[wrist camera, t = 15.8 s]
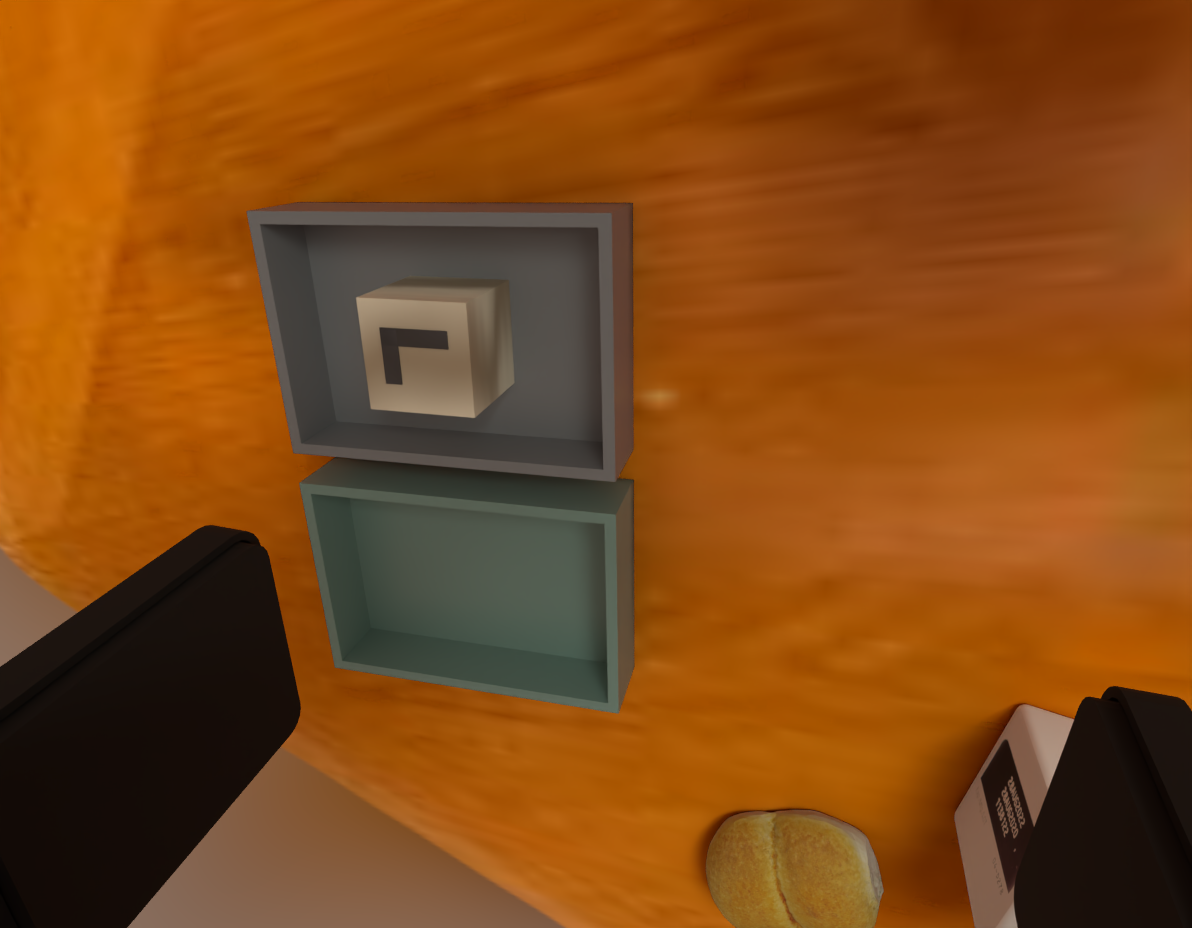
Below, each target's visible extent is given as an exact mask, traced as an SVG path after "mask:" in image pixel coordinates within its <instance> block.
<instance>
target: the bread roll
mask: <svg viewBox="0 0 1192 928" xmlns="http://www.w3.org/2000/svg"><path fill="white" fill-rule="evenodd" d="M706 876H707V881H708V886H709V889H710V892H711V895H712V898H713V900H714V902H715V904H716V905H717V907H718V908H719V910H720V911H721V913H722V914H723V916H724V917H725V918H726V919H727V920H728V921H729V922H730V923H731V924H732V925H734V926H735V927H736V928H874V926H875V923H876V918H877V914H878V910H879V903H880V900H881V896H882V894H883V892H884V891H883V886H882V881H881V875H880V871H879V866H878V862H877V859H876V857H875V855H874V852H873V849H872V848H871V846H870V844H869V840H868V839H867V837H866V836H865V834H864V833H862V832H861V831H860V830H858V829H857V828H855V827H853V826H851V825H850V824H848V823H845V822H843V821H841V820H839V819H836V818H834V817H831V816H828V815H826V814H824V813H821V812H817V811H812V810H786V811H776V812H773V813H768V812H765V811H752V812H744V813H739V814H737V815H734V816H731V817H729V818H728V819H726V820H725V821H724V823H723V824H722V825H721V826H720V827H719V829H718V831H717V832H716V834H715V835H714V837H713V839H712V841H711V843H710V845H709V848H708V853H707V858H706Z"/></svg>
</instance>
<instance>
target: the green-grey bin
mask: <svg viewBox="0 0 1192 928" xmlns="http://www.w3.org/2000/svg"><path fill="white" fill-rule="evenodd" d="M299 484H300V489H301V495H302V500H303V505H304V510H305V515H306V520H307V526H308V531H309V536H310V541H311V546H312V551H313V556H314V562H315V567H316V572H317V577H318V582H319V587H320V593H321V598H322V603H323V608H324V613H325V618H326V624H327V629H328V634H329V639H330V644H331V649H332V655H333V660H334V665H335V668H342V669H348V670H354V671H360V672H366V673H372V674H378V675H385V676H391V677H397V678H403V679H409V680H415V681H422V682H428V683H434V684H440V685H446V686H452V687H458V688H465V689H471V690H477V691H483V692H489V693H495V694H502V695H508V696H514V697H520V698H526V699H532V700H539V701H545V702H551V703H557V704H563V705H569V706H575V707H582V708H588V709H594V710H600V711H606V712H612V713H619V711H620V708H621V705H622V702H623V699H624V696H625V693H626V690H627V687H628V684H629V681H630V678H631V675H632V672H633V669H634V480H629V479H618V478H617V480H616V482H610V481H599V480H587V479H576V478H565V477H554V476H543V475H532V474H521V473H509V472H498V471H487V470H476V469H465V468H454V467H443V466H432V465H420V464H409V463H398V462H387V461H376V460H365V459H354V458H342V457H335V458H334V459H332V460H331V461H330V462H328V463H327V464H325V465H324V466H323V467H321V468H320V469H318V470H317V471H315V472H314V473H313V474H311V475H310V476H308V477H307V478H306V479H304V480H303V481H301V482H300V483H299Z"/></svg>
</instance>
